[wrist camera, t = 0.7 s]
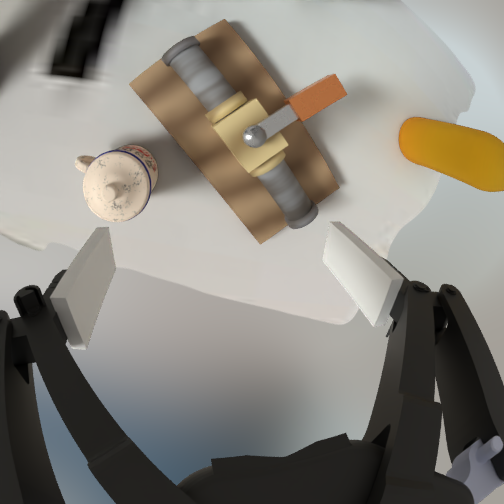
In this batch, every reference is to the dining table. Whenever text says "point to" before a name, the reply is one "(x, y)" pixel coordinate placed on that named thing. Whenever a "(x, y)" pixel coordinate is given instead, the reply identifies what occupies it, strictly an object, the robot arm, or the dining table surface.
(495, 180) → the beer bottle
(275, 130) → the valve lever
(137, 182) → the teacup with lid
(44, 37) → the dining table surface
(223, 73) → the pipe valve
